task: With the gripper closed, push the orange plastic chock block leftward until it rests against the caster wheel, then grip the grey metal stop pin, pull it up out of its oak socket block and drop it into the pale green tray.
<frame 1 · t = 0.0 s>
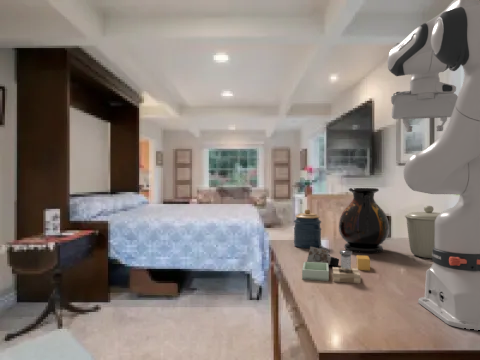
hand: (424, 131, 118), 48 cm above the table, tool pointing down, fingers open, 8 cm apart
canister 2: (307, 246, 168), on the table
pin stand: (345, 278, 112), on the table
canister: (428, 256, 146), on the table
tray: (315, 275, 116), on the table
amphora vase: (363, 250, 158), on the table
stop pin: (345, 265, 112), in the pin stand
chock: (363, 268, 126), on the table
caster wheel: (322, 266, 129), on the table
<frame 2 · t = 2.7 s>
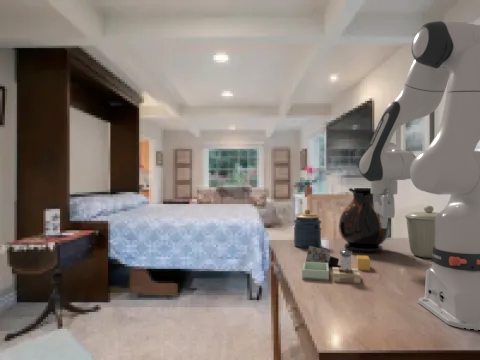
hand: (383, 227, 125), 15 cm above the table, tool pointing down, fingers closed
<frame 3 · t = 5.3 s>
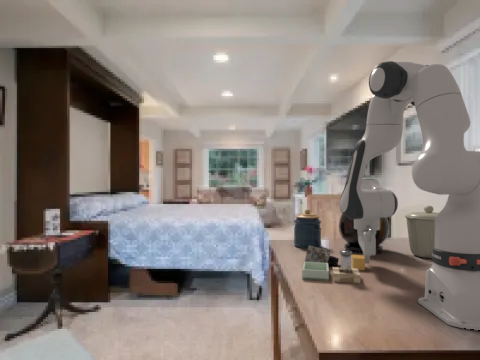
hand: (366, 262, 126), 2 cm above the table, tool pointing down, fingers closed, pressing on chock
chock: (358, 267, 126), on the table, touching gripper
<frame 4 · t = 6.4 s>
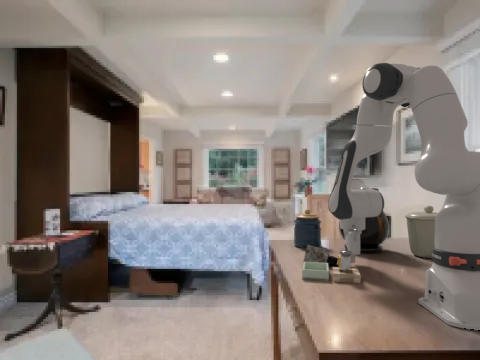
hand: (352, 262, 127), 2 cm above the table, tool pointing down, fingers closed
chock: (344, 267, 127), on the table, touching gripper
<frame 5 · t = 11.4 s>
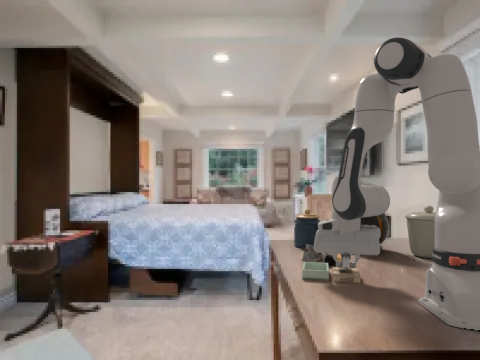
hand: (345, 267, 112), 4 cm above the table, tool pointing down, fingers closed on stop pin, 3 cm apart
stop pin: (345, 265, 112), in the pin stand, touching gripper
chock: (343, 267, 127), on the table
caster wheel: (321, 264, 133), on the table
everything else where it was.
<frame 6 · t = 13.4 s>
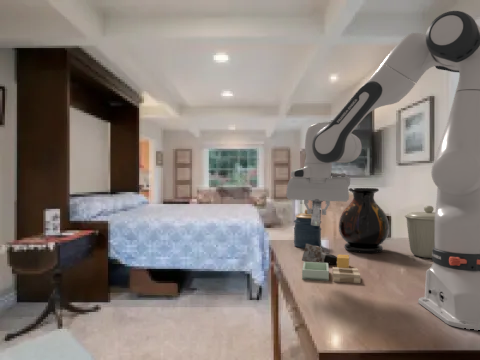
hand: (316, 214, 116), 20 cm above the table, tool pointing down, fingers closed on stop pin, 3 cm apart
stop pin: (316, 212, 116), point 21 cm above the table, touching gripper
when the fingers open (6 cm above the table, at t = 15.8 s): stop pin drops 2 cm, resting on tray.
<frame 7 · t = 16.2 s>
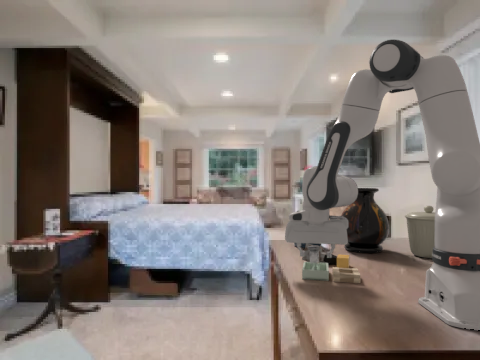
hand: (315, 256, 116), 6 cm above the table, tool pointing down, fingers open, 7 cm apart
stop pin: (314, 259, 116), in the tray, point 5 cm above the table
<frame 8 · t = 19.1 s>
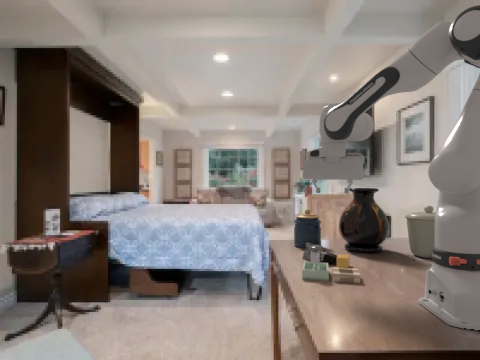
hand: (332, 193, 120), 27 cm above the table, tool pointing down, fingers open, 8 cm apart
at the end: chock inside the target area (0.2 cm from its centre), on the table; chock 9.5 cm from the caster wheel (horizontally); stop pin inside the target area on the tray (0.1 cm from its centre), point 5.0 cm above the tray's base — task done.
